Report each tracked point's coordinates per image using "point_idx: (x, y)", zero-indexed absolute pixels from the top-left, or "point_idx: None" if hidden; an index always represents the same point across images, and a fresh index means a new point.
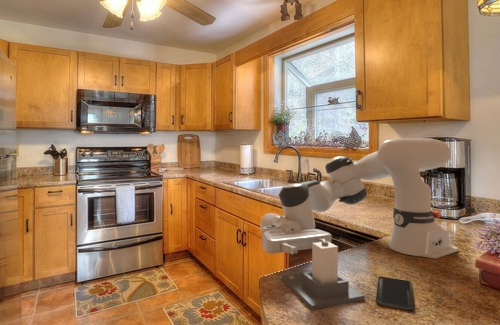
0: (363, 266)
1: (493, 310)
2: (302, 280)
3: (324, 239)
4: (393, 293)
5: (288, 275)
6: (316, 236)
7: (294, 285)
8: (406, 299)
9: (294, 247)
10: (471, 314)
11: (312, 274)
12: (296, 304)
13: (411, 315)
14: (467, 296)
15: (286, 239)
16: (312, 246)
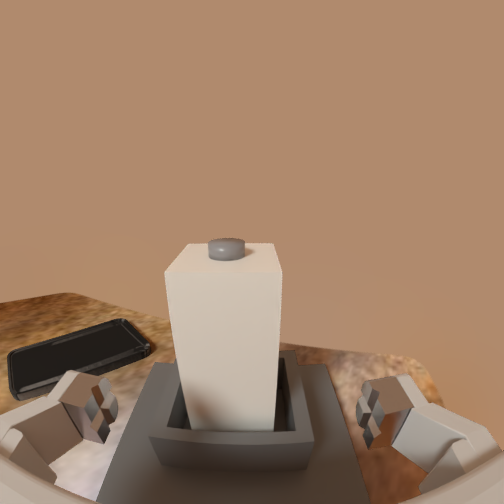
0: None
1: (44, 296)
2: (308, 461)
3: (4, 416)
4: (84, 350)
5: None
6: (6, 458)
7: (345, 463)
8: (93, 333)
9: (388, 380)
10: (71, 300)
11: (274, 416)
12: (358, 396)
13: (137, 320)
14: (18, 312)
15: (474, 473)
16: (281, 292)
